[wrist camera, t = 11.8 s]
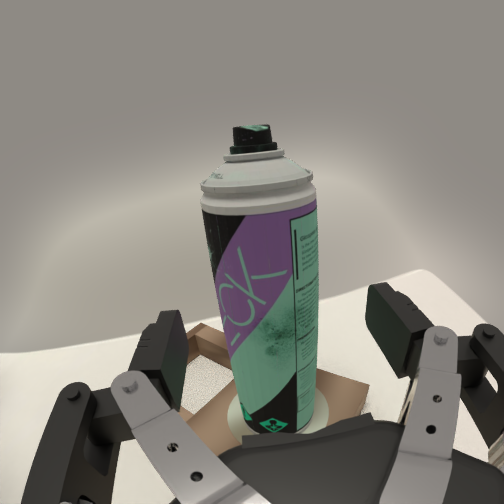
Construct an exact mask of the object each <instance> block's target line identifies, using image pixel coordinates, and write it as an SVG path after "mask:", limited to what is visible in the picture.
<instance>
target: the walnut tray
mask: <svg viewBox="0 0 504 504" xmlns="http://www.w3.org/2000/svg"><path fill="white" fill-rule="evenodd" d="M186 335H187V339H188V344H189V355H188V361H187V364H188V363H189V362H191V361H192V360H193V359H195V358H196V357H197V356H198V355H200V354H201V355H203V356H205V357H207V358H209V359H211V360H213V361H214V362H216V363H218V364H220V365H222V366H224V367H226V368H228V369H230V370H232V367H231V362H230V357H229V353H228V348H227V343H226V339H225V334H224V333H223V332H221V331H219V330H216V329H214V328H212V327H210V326H207V325H205V324H203V323H200V324H199V325H197V326H196V327H194V328H193V329H192V330H190V331H189V332H187V333H186ZM369 386H370V385H368V384H365V383H362V382H358V381H355V380H352V379H348V378H345V377H342V376H339V375H336V374H333V373H330V372H327V371H324V370H321V369H318V368H316V385H315V401H314V412H313V418H312V421H311V423H310V425H309V426H308V428H307V429H306V430H305V431H304V432H303V433H301V434H309V433H313V432H315V431H318V430H320V429H322V428H325V427H327V426H329V425H331V424H334V423H336V422H338V421H340V420H343V419H347V418H351V417H355V416H359V414H360V412H361V410H362V409H363V407H364V404H365V401H366V397H367V393H368V389H369ZM178 414H179V415H180V416H181V417H182V418H183V420H184V421H185V422H186V423H187V424H188V425H189V427H190V428H191V429H192V430H193V431H194V432H195V433H196V435H197V436H198V437H199V438H200V439H201V440H202V441H203V442H204V443H205V444H206V446H207V447H208V448H209V449H210V450H211V451H212V452H213V453H214V454H215V455H216V456H218V455H219V454H221V453H223V452H224V451H226V450H228V449H230V448H233V447H235V446H238V445H241V444H242V436H243V435H254V434H253V433H252V432H251V431H250V430H249V429H248V428H247V426H246V424H245V421H244V418H243V414H242V410H241V406H240V402H239V397H238V393H237V389H236V384H235V380H234V379H233V380H232V381H231V382H230V383H229V384H228V385H227V386H226V387H225V388H224V389H222V390H221V391H220V392H219V393H218V394H217V395H216V396H215V397H214V398H213V399H211V400H210V401H209V402H208V403H207V404H206V405H205V406H204V407H203V408H201V409H200V410H199V411H198V412H197V413H196V414H195V415H193V414H192V413H190V412H189V411H187V410H186V409H185V408H183V407H182V406H180V412H178Z"/></svg>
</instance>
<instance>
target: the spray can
mask: <svg viewBox="0 0 504 504" xmlns="http://www.w3.org/2000/svg"><path fill="white" fill-rule="evenodd" d="M233 139H234V146H232V147H230V153H229V154H225V155H224V160H225V161H227V162H225V163H224V164H223V165H221V166H220V167H219V168H218V169H217V170H216V171H214V172H213V174H212V175H211V176H210V177H209V178H208V179H206V180H203V181H202V182H201V183H200V185H201V190H202V191H203V192H204V194H203V196H202V198H201V207H202V213H203V219H204V225H205V232H206V238H207V244H208V249H209V255H210V261H211V266H212V272H213V277H214V283H215V288H216V293H217V299H218V304H219V309H220V314H221V319H222V324H223V329H224V334H225V339H226V343H227V348H228V353H229V357H230V362H231V367H232V371H233V376H234V380H235V384H236V389H237V393H238V397H239V402H240V406H241V410H242V414H243V418H244V421H245V424H246V426H247V428H248V429H249V430H250V431H251V432H252V433H253V434H263V433H272V432H281V433H303V432H304V431H305V430H306V429H307V428H308V426H309V425H310V423H311V421H312V418H313V412H314V401H315V385H316V367H317V343H318V286H319V283H318V280H319V279H318V225H317V202H316V188H315V187H314V186H313V184H312V183H311V180H312V179H313V172H312V171H311V170H307V169H304V168H302V167H301V166H299V165H298V164H296V163H295V162H293V161H292V160H290V159H288V158H286V157H284V156H282V155H284V149H281V148H277V143H276V142H272V137H271V130H270V126H269V125H252V126H240V127H234V128H233Z"/></svg>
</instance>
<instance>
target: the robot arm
mask: <svg viewBox="0 0 504 504" xmlns="http://www.w3.org/2000/svg"><path fill="white" fill-rule="evenodd" d="M365 320H366V325H367V328H368V330H369V331H370V333H371V334H372V336H373V338H374V339H375V341H376V342H377V344H378V346H379V347H380V349H381V351H382V352H383V354H384V355H385V357H386V359H387V360H388V362H389V364H390V365H391V367H392V369H393V370H394V372H395V374H396V376H397V377H398V379H400V378H403V377H406V376H409V378H410V381H409V384H408V388H407V392H406V395H405V399H404V402H403V406H402V409H401V412H400V415H399V418H398V421H397V423H396V422H391V421H384V420H374V419H373V417H372V415H371V412H370V413H366V414H363V415H359V416H355V417H351V418H347V419H343V420H340V421H338V422H336V423H334V424H331V425H329V426H327V427H325V428H322V429H320V430H318V431H315V432H313V433H309V434H301V433H281V432H272V433H263V434H254V435H243V436H242V444H241V445H238V446H235V447H233V448H230V449H228V450H226V451H224V452H223V453H221V454H219V455H218V456H216V455H215V454H214V453H213V452H212V451H211V450H210V449H209V448H208V447H207V446H206V444H205V443H204V442H203V441H202V440H201V439H200V438H199V437H198V436H197V435H196V433H195V432H194V431H193V430H192V429H191V428H190V427H189V425H188V424H187V423H186V422H185V421H184V420H183V418H182V417H181V416H180V415H179V414H178V412H180V406H181V399H182V393H183V386H184V380H185V373H186V367H187V361H188V355H189V344H188V339H187V335H186V332H185V328H184V325H183V321H182V317H181V314H180V312H179V310H169V311H161V312H160V314H159V317H158V319H157V322H156V323H153V324H150V325H149V326H148V327H147V328H146V329H145V330H144V331H143V332H142V335H141V337H140V341H139V342H138V345H137V348H136V350H135V353H134V355H133V358H132V361H131V363H130V366H129V369H128V371H127V372H124V373H122V374H120V375H118V376H117V377H116V378H115V379H114V380H113V382H112V384H111V387H109V388H105V389H101V390H96V391H91V390H90V388H89V386H88V385H87V384H85V383H82V382H75V383H71V384H69V385H67V386H66V387H64V388H63V389H62V391H61V392H60V394H59V396H58V398H57V400H56V403H55V405H54V407H53V410H52V412H51V415H50V417H49V419H48V422H47V425H46V427H45V430H44V432H43V435H42V438H41V440H40V443H39V446H38V449H37V451H36V454H35V457H34V460H33V463H32V466H31V470H30V473H29V476H28V479H27V483H26V486H25V490H24V493H23V497H22V501H21V504H111V501H112V493H113V486H114V480H115V473H116V467H117V461H118V456H119V450H120V445H121V442H122V441H127V440H132V439H136V440H137V442H138V443H139V445H140V446H141V448H142V450H143V451H144V453H145V454H146V456H147V457H148V459H149V460H150V462H151V463H152V465H153V466H154V468H155V469H156V471H157V472H158V474H159V475H160V476H161V478H162V479H163V480H164V482H165V483H166V485H167V486H168V487H169V489H170V490H171V491H172V493H173V494H174V495H175V496H176V498H175V499H174V500H172V501H171V502H170V503H169V504H504V335H503V334H502V333H501V332H500V330H499V329H498V328H496V327H494V326H493V325H490V324H479V325H477V326H476V327H475V328H474V331H473V334H472V336H458V337H457V335H456V334H455V332H454V331H452V330H451V329H449V328H447V327H443V326H434V325H433V324H432V322H431V321H430V320H429V319H428V318H427V317H426V316H425V315H424V314H423V312H422V311H421V310H420V309H418V307H417V306H416V305H415V304H414V303H413V302H412V301H411V300H410V298H409V297H408V296H406V295H404V294H402V293H400V292H399V291H396V292H395V291H394V290H393V288H392V287H391V286H390V285H389V284H388V283H386V282H384V283H378V284H373V285H370V286H369V288H368V295H367V305H366V313H365ZM488 370H489V371H490V373H491V374H492V375H493V377H494V378H495V380H496V381H497V384H498V391H497V393H496V391H495V390H494V388H493V387H492V386H491V384H490V383H489V381H488V380H487V378H486V377H485V376H486V374H487V372H488ZM460 398H461V400H462V401H463V403H464V405H465V406H466V408H467V410H468V411H469V413H470V415H471V417H472V418H473V420H474V422H475V424H476V426H477V427H478V429H479V431H480V433H481V435H482V437H483V439H484V441H485V442H486V444H487V446H488V448H489V452H488V460H489V461H488V462H484V461H482V460H479V459H477V458H474V457H472V456H469V455H467V454H465V453H462V452H460V451H458V450H455V449H453V443H454V437H455V431H456V425H457V418H458V410H459V401H460Z"/></svg>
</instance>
